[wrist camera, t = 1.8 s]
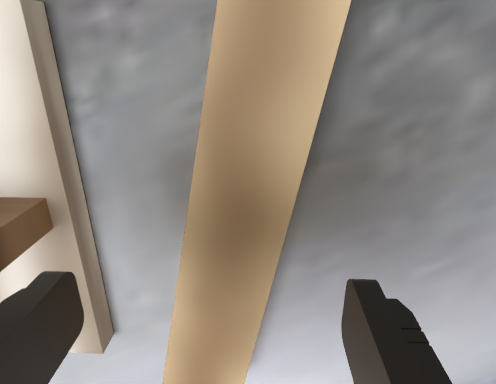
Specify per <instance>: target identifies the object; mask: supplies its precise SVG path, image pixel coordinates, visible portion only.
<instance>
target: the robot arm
mask: <svg viewBox="0 0 496 384" xmlns="http://www.w3.org/2000/svg"><path fill="white" fill-rule="evenodd" d="M83 323H84V310H83V306H82V302H81V298H80V294H79V289H78V285H77V281H76V277H75V275H74V274H73V273H72V272H64V271H44V272H42V273H40V274H39V275H38V276H37V277H36V278H35V279H34V280H33V281H32V282H31V283H30V284H29V285H28V286H27V287H26V288H22V289H21V290H19V291H17V292H16V293H14V294H12V295H11V296H9V297H8V298H6V299H4V300H3V301H2V302H1V303H0V384H48V383H49V381H50V380H51V378H52V377H53V375H54V374H55V372H56V370H57V369H58V367H59V366H60V364H61V363H62V361H63V360H64V358H65V356H66V355H67V353H68V352H69V350H70V349H71V347H72V346H73V344H74V343H75V341H76V339H77V338H78V336H79V335H80V333H81V330H82V328H83ZM342 339H343V344H344V348H345V352H346V355H347V359H348V363H349V366H350V370H351V374H352V377H353V381H354V384H452V382H451V381H450V379H449V377H448V375H447V373H446V372H445V370H444V368H443V366H442V365H441V363H440V361H439V359H438V358H437V356H436V354H435V352H434V350H433V349H432V347H431V346H429V342H428V340H427V338H426V336H425V334H424V333H423V332H422V331H421V327H420V326H419V324H418V322H417V320H416V318H415V317H414V315H413V313H412V312H411V311H410V310H409V309H408V308H406V307H405V306H404V305H403V304H402V303H401V302H400V301H399V300H398V299H386V297H385V295H384V293H383V291H382V289H381V287H380V285H379V283H378V282H377V280H366V279H349V280H348V281H347V285H346V293H345V300H344V307H343V315H342Z"/></svg>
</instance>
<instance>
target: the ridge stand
mask: <svg viewBox="0 0 496 384" xmlns="http://www.w3.org/2000/svg"><path fill="white" fill-rule="evenodd" d="M44 271H64V272H72V273H73V274H74V275H75V277H76V281H77V285H78V289H79V294H80V298H81V302H82V306H83V310H84V323H83V328H82V330H81V333H80V335H79V336H78V338H77V339H76V341H75V343H74V344H73V346H72V347H71V349H70V350H69V352H74V353H99V354H103V353H104V351H105V349H106V347H107V345H108V344H109V342H110V340H111V338H112V336H113V335H114V332H113V327H112V322H111V317H110V313H109V308H108V303H107V299H106V294H105V289H104V285H103V280H102V275H101V270H100V266H99V261H98V256H97V252H96V247H95V242H94V237H93V233H92V228H91V223H90V219H89V214H88V209H87V204H86V200H85V195H84V190H83V186H82V181H81V176H80V171H79V167H78V162H77V157H76V153H75V148H74V143H73V139H72V134H71V129H70V124H69V120H68V115H67V110H66V106H65V101H64V96H63V91H62V87H61V82H60V77H59V73H58V68H57V63H56V58H55V54H54V49H53V44H52V40H51V35H50V30H49V26H48V21H47V16H46V11H45V7H44V2H40V1H35V0H0V303H1V302H2V301H3V300H4V299H6V298H8V297H9V296H11V295H12V294H14V293H16V292H17V291H19V290H21V289H22V288H26V287H27V286H28V285H29V284H30V283H31V282H32V281H33V280H34V279H35V278H36V277H37V276H38V275H39V274H40V273H42V272H44Z"/></svg>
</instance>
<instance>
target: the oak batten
mask: <svg viewBox="0 0 496 384" xmlns="http://www.w3.org/2000/svg"><path fill="white" fill-rule="evenodd" d="M350 4H351V0H218V1H217V8H216V15H215V22H214V29H213V36H212V43H211V50H210V57H209V64H208V71H207V78H206V85H205V92H204V99H203V106H202V113H201V120H200V127H199V134H198V141H197V148H196V155H195V162H194V169H193V176H192V183H191V190H190V197H189V204H188V211H187V218H186V225H185V232H184V239H183V246H182V253H181V260H180V267H179V274H178V280H177V287H176V294H175V301H174V308H173V315H172V322H171V329H170V336H169V343H168V350H167V357H166V364H165V371H164V378H163V384H244V383H245V379H246V376H247V372H248V369H249V365H250V361H251V358H252V354H253V351H254V347H255V344H256V340H257V336H258V333H259V329H260V326H261V322H262V319H263V315H264V311H265V308H266V304H267V301H268V297H269V293H270V290H271V286H272V283H273V279H274V276H275V272H276V268H277V265H278V261H279V258H280V254H281V251H282V247H283V243H284V240H285V236H286V233H287V229H288V226H289V222H290V218H291V215H292V211H293V208H294V204H295V201H296V197H297V193H298V190H299V186H300V183H301V179H302V175H303V172H304V168H305V165H306V161H307V158H308V154H309V150H310V147H311V143H312V140H313V136H314V133H315V129H316V125H317V122H318V118H319V115H320V111H321V108H322V104H323V100H324V97H325V93H326V90H327V86H328V83H329V79H330V75H331V72H332V68H333V65H334V61H335V57H336V54H337V50H338V47H339V43H340V40H341V36H342V32H343V29H344V25H345V22H346V18H347V15H348V11H349V7H350Z"/></svg>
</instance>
